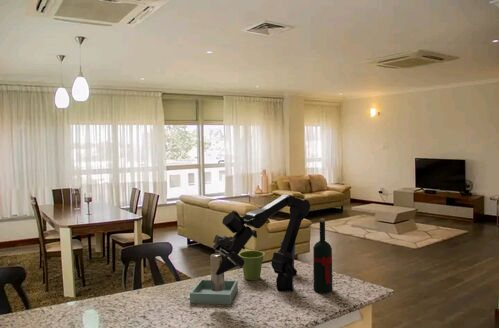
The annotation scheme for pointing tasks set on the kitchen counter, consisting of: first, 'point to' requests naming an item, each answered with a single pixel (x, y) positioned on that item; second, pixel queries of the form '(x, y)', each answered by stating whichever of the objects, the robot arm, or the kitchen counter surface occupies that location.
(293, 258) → the cup
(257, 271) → the plant pot
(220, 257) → the canister
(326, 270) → the wine bottle
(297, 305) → the kitchen counter surface
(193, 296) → the tray
